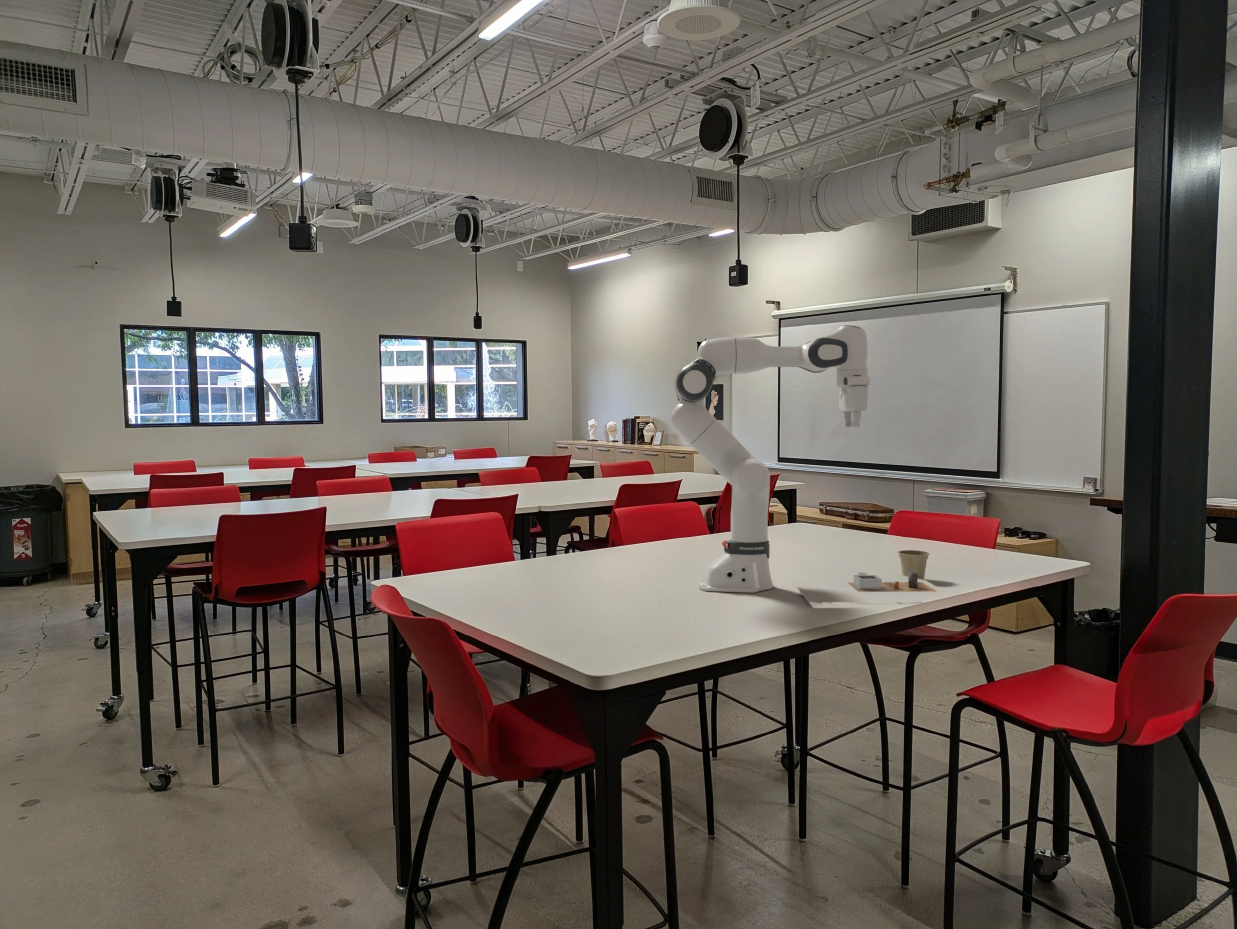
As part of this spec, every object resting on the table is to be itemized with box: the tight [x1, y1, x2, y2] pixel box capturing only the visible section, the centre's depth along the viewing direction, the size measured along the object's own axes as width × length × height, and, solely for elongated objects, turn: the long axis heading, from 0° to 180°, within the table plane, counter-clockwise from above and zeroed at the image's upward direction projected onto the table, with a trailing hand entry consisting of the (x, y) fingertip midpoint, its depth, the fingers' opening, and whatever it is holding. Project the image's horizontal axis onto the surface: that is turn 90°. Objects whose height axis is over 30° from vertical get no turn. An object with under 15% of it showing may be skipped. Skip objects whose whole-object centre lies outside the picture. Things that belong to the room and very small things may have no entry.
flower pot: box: [897, 549, 930, 580], centre depth 253 cm, size 9×9×9 cm
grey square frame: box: [853, 572, 883, 590], centre depth 237 cm, size 10×6×3 cm, turn 177°
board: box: [847, 572, 937, 593], centre depth 236 cm, size 22×13×6 cm, turn 87°
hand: (852, 427), depth 242 cm, fingers open, 8 cm apart
